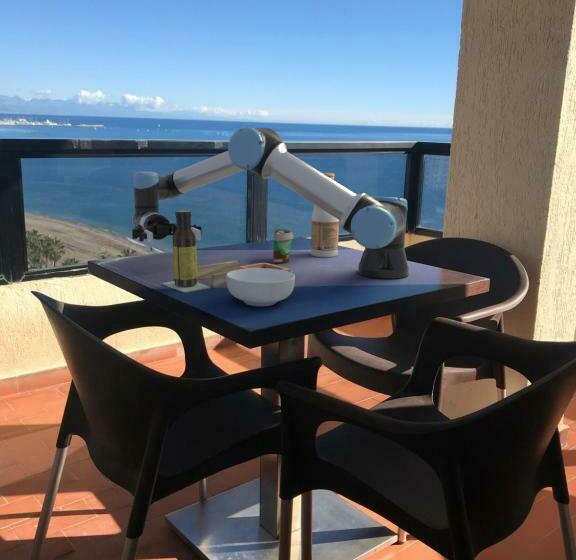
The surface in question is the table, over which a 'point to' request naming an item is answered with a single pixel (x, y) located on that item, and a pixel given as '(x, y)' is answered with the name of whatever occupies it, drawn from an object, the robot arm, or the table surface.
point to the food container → (282, 246)
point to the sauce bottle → (184, 251)
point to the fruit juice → (324, 232)
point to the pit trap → (265, 266)
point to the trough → (217, 272)
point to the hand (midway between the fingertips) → (176, 236)
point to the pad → (186, 289)
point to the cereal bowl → (260, 285)
